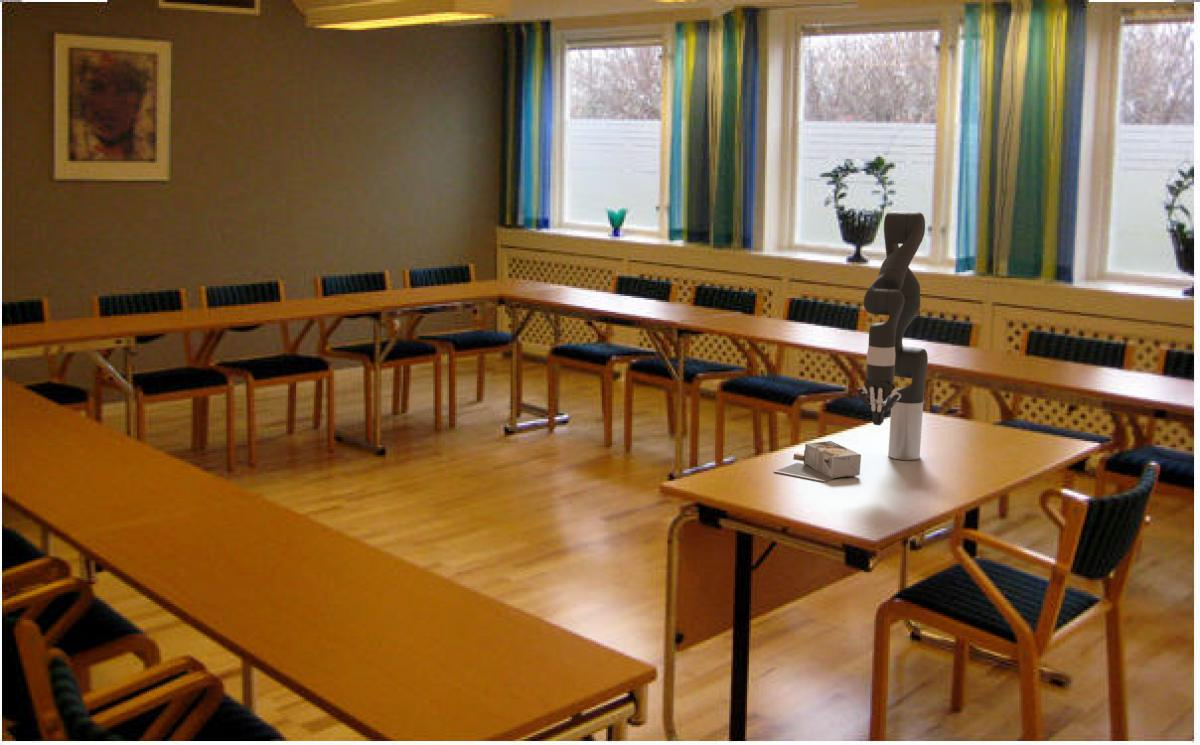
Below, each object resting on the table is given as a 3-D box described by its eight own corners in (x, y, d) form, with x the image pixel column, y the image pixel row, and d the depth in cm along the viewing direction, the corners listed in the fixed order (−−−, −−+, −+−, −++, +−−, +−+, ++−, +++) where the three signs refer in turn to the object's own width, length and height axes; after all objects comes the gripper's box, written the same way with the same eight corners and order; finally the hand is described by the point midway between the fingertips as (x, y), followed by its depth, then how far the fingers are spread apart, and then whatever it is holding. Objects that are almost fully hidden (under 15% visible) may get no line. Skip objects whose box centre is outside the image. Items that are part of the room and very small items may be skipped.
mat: (798, 463, 394) (798, 462, 394) (847, 473, 384) (847, 471, 384) (773, 472, 383) (773, 471, 383) (824, 482, 373) (824, 481, 373)
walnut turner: (790, 459, 399) (790, 455, 399) (800, 455, 404) (800, 451, 404) (844, 469, 388) (845, 465, 388) (854, 466, 393) (854, 462, 393)
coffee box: (860, 476, 380) (831, 462, 394) (861, 454, 378) (832, 440, 393) (831, 478, 377) (803, 464, 391) (832, 456, 375) (804, 442, 390)
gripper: (909, 363, 365) (905, 425, 368) (864, 357, 372) (861, 418, 376) (897, 367, 359) (893, 430, 362) (852, 361, 367) (849, 423, 370)
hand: (877, 424), depth 369 cm, fingers closed
